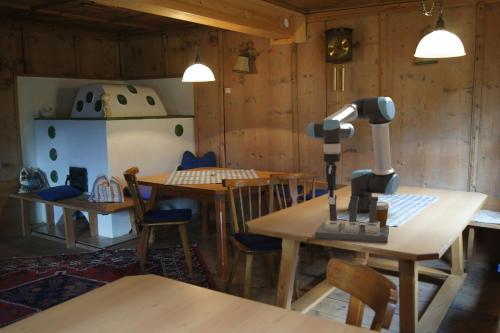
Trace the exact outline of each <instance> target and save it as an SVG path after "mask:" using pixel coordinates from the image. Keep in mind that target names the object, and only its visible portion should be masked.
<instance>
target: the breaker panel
mask: <svg viewBox="0 0 500 333" xmlns="http://www.w3.org/2000/svg"><path fill="white" fill-rule="evenodd" d="M314 234H315V239H320V240H334V241H335V240H336V241H350V242H351V241H352V242H365V243H381V244H383V243H384V244H388V242H389V235H390V226H389V225H386V226H380V222H379V221H376V223H369V220H368V221H367V220H366V223H365V224H361V220H357V219H356V222H349V219H347V221H346V223H342V219H338V218H337V221H330V218H329V219H327V220H326V222H321V224H320V225H319V226H318V228H317V229H316V231H315V233H314Z"/></svg>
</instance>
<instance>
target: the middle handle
mask: <svg viewBox="0 0 500 333" xmlns="http://www.w3.org/2000/svg"><path fill="white" fill-rule="evenodd" d="M350 200H351V206H350V211H349V218H348V220H349V222H356V220H357V218H358V217H357V214H358V212H357V204H358V201H359V196H351V195H350V196H349V201H350Z"/></svg>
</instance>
